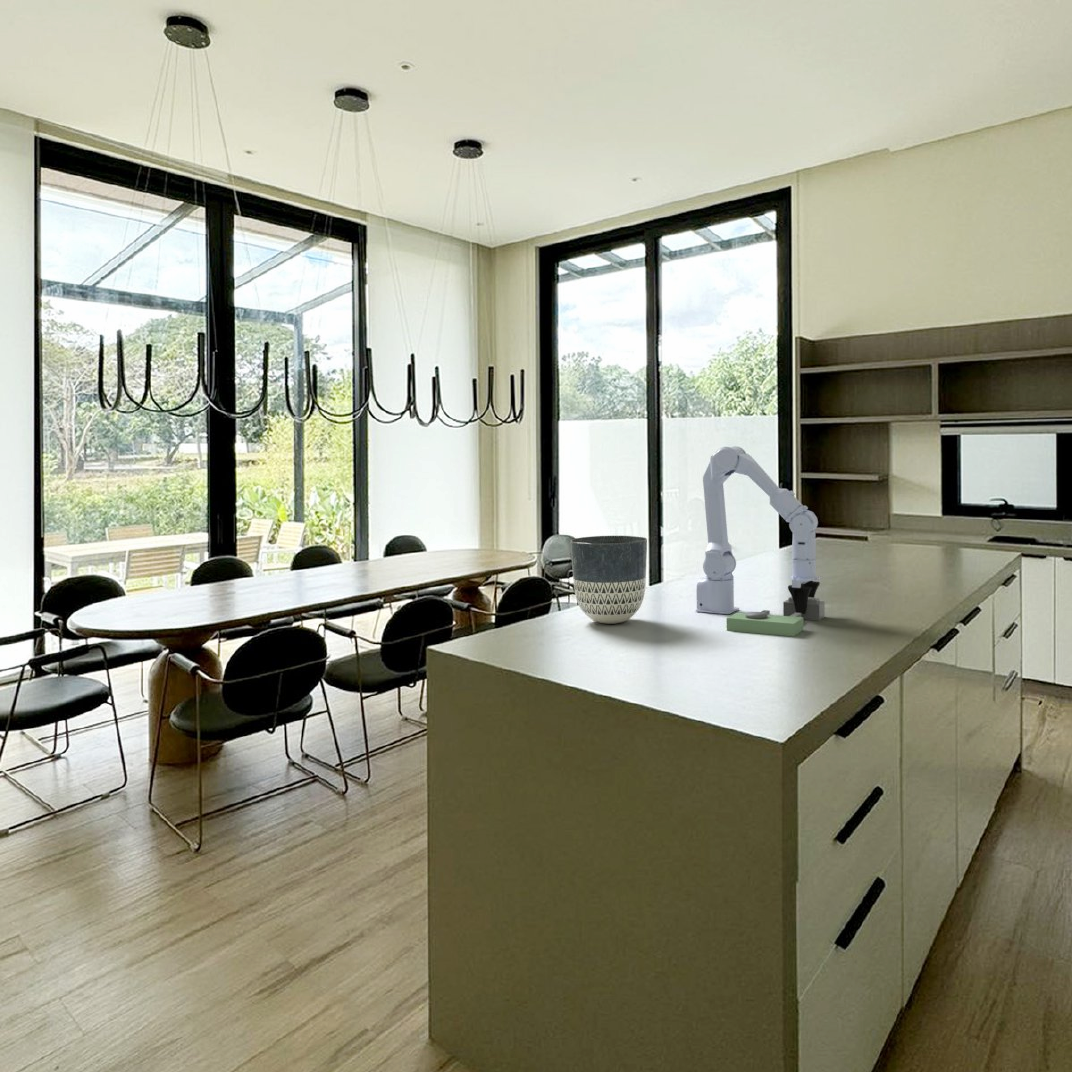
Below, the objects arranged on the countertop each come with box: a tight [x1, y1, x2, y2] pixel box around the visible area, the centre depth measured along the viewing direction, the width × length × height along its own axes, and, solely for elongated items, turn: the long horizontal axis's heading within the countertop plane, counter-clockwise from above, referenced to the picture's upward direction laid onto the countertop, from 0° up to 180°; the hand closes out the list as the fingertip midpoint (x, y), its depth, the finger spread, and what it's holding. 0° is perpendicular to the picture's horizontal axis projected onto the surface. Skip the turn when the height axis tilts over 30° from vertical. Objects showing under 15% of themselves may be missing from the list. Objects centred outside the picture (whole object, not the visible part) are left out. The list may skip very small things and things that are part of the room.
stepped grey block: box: [782, 595, 826, 621], centre depth 211 cm, size 5×9×5 cm, turn 56°
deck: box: [726, 609, 804, 637], centre depth 202 cm, size 16×18×4 cm
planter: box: [569, 535, 648, 625], centre depth 212 cm, size 20×20×21 cm
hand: (803, 611), depth 211 cm, fingers closed on stepped grey block, 5 cm apart
